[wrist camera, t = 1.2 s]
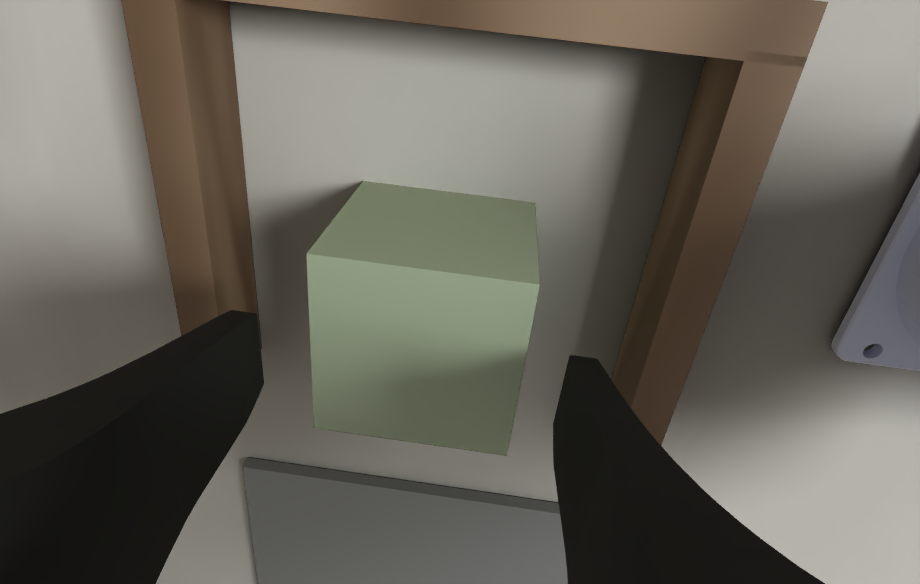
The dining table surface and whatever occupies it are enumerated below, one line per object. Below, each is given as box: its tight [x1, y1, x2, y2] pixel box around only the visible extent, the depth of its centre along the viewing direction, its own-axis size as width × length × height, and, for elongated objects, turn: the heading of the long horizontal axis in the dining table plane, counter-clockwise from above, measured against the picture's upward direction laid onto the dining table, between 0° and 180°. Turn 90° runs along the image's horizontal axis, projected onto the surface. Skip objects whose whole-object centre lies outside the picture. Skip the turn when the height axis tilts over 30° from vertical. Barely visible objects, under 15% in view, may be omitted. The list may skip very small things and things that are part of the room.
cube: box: [306, 181, 540, 456], centre depth 15 cm, size 5×5×5 cm
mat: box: [242, 458, 568, 584], centre depth 24 cm, size 14×9×1 cm, turn 84°
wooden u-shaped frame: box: [121, 0, 828, 445], centre depth 15 cm, size 14×12×2 cm
